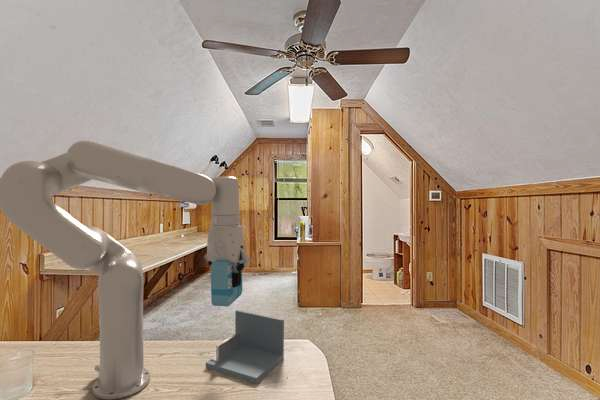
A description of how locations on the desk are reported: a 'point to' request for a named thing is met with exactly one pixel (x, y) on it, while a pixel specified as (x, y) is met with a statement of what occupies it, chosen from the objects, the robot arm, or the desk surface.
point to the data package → (223, 284)
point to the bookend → (227, 347)
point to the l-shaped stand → (253, 347)
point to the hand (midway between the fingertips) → (227, 284)
